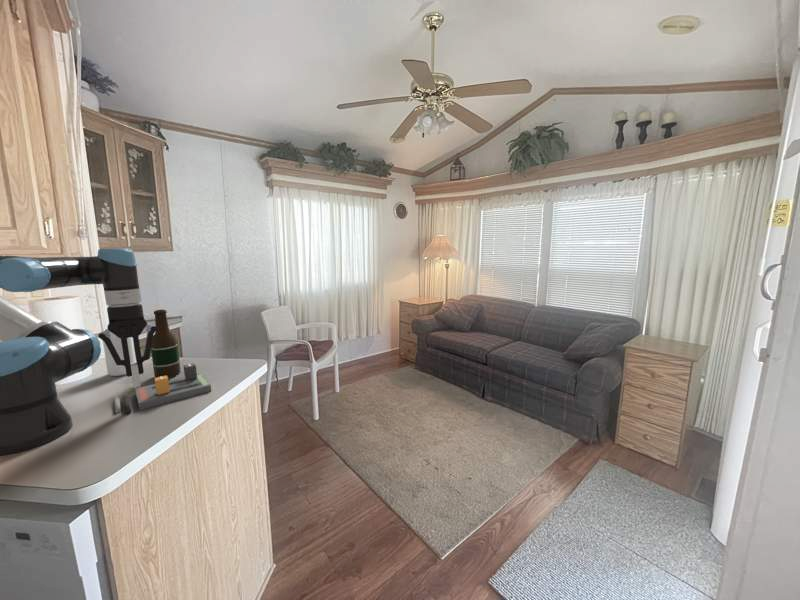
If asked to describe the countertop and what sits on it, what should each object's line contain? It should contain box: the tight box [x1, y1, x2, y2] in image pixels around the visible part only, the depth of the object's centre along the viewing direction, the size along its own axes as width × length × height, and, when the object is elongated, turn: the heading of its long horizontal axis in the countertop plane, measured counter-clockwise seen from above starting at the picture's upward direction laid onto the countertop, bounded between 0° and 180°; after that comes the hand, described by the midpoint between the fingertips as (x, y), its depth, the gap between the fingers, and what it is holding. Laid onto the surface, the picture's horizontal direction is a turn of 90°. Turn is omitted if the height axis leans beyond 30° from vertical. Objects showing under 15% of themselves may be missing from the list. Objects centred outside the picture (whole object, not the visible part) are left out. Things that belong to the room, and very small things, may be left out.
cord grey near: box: [113, 396, 122, 414], centre depth 94 cm, size 11×1×1 cm, turn 42°
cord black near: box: [122, 395, 132, 415], centre depth 94 cm, size 13×1×1 cm, turn 42°
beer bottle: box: [150, 309, 181, 379], centre depth 117 cm, size 8×8×24 cm
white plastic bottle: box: [102, 332, 136, 377], centre depth 120 cm, size 8×8×18 cm
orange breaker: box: [154, 375, 170, 395], centre depth 98 cm, size 3×3×4 cm
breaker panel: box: [134, 373, 212, 411], centre depth 103 cm, size 18×14×2 cm
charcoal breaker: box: [183, 362, 198, 380], centre depth 109 cm, size 3×3×4 cm
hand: (137, 385), depth 94 cm, fingers closed
